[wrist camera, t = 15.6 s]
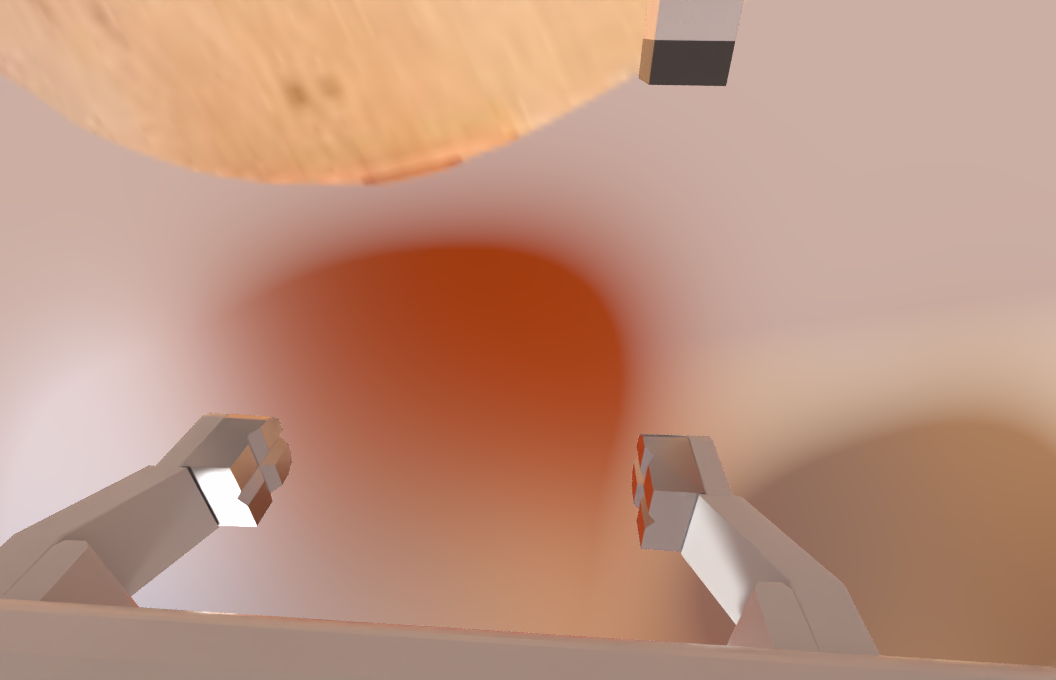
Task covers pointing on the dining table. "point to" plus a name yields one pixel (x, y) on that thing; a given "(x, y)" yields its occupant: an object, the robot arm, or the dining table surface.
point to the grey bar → (689, 41)
